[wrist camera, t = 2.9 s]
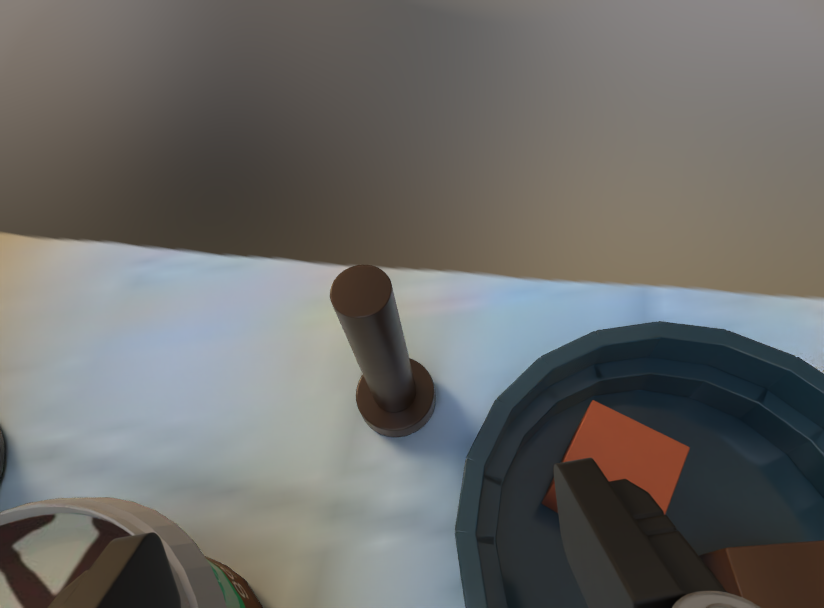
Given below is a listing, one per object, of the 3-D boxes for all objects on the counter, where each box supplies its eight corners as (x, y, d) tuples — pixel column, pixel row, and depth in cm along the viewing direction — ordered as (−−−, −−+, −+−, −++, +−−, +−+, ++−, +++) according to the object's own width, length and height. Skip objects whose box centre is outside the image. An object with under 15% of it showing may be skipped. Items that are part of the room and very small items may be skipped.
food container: (344, 568, 25) (275, 540, 16) (297, 733, 22) (182, 808, 13) (113, 501, 27) (-54, 446, 18) (43, 641, 24) (-193, 653, 16)
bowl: (427, 750, 21) (415, 784, 17) (487, 346, 29) (489, 299, 25) (950, 897, 18) (1102, 985, 14) (849, 397, 26) (923, 353, 22)
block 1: (540, 503, 24) (552, 484, 21) (576, 428, 26) (592, 399, 22) (627, 553, 23) (655, 542, 20) (659, 471, 25) (690, 446, 21)
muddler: (351, 430, 28) (289, 332, 18) (369, 359, 30) (322, 238, 20) (427, 443, 27) (404, 349, 18) (441, 370, 29) (427, 249, 20)
